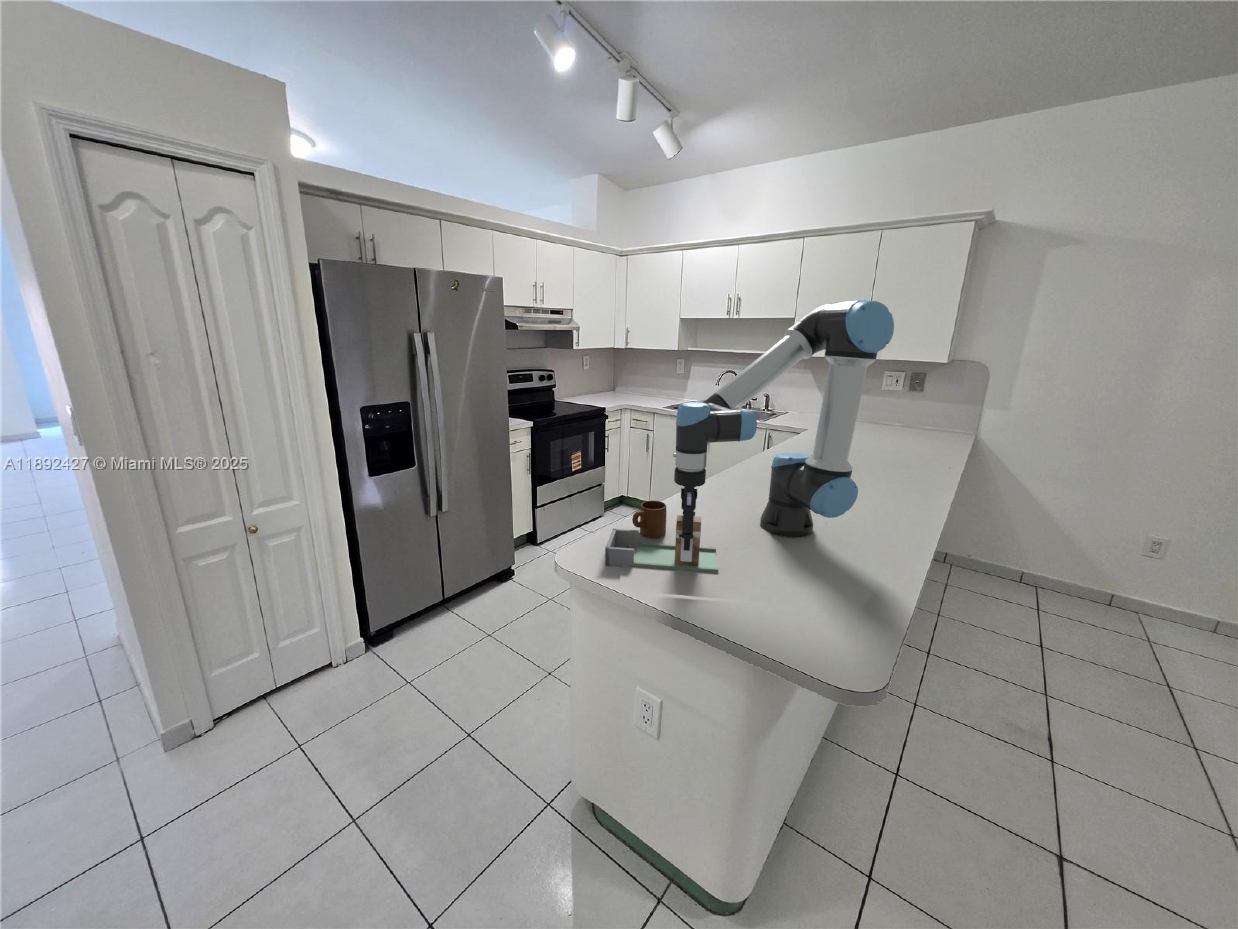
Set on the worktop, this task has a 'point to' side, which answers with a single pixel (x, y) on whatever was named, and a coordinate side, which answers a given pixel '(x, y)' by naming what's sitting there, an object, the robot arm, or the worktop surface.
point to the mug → (651, 519)
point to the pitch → (652, 553)
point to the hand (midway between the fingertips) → (686, 549)
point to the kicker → (695, 541)
